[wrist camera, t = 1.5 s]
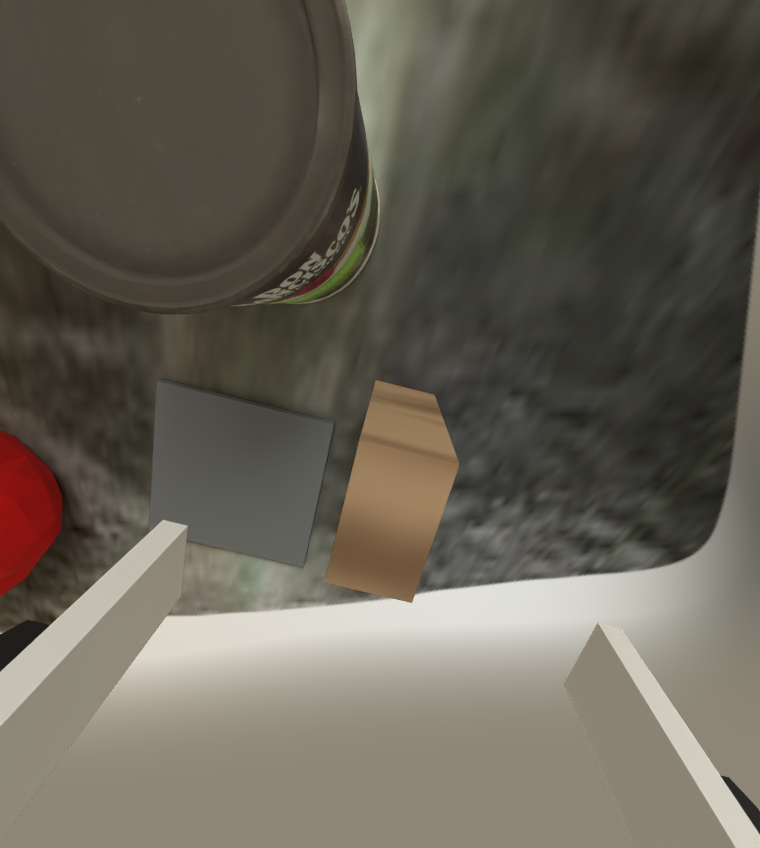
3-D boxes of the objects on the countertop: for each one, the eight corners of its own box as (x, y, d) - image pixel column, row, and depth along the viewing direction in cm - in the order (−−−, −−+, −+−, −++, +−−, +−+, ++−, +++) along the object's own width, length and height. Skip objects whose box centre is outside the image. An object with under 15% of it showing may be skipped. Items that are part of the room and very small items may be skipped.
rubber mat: (161, 379, 26) (156, 381, 25) (335, 421, 26) (333, 424, 26) (153, 526, 30) (148, 531, 29) (304, 562, 30) (303, 567, 29)
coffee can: (415, 238, 22) (440, 152, 9) (278, 336, 24) (133, 385, 11) (311, 55, 20) (129, -440, 6) (168, 183, 22) (-188, 10, 9)
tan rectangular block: (375, 380, 25) (359, 440, 15) (434, 394, 25) (459, 464, 15) (352, 473, 27) (324, 582, 17) (406, 486, 27) (411, 602, 17)
